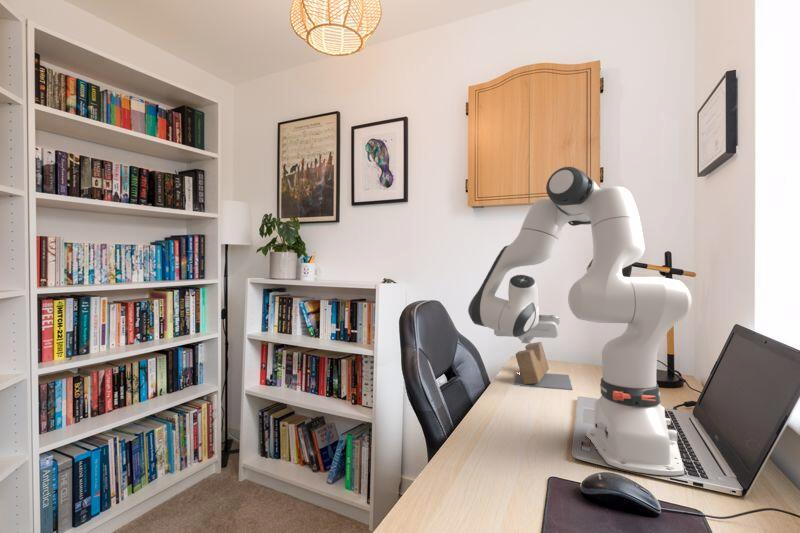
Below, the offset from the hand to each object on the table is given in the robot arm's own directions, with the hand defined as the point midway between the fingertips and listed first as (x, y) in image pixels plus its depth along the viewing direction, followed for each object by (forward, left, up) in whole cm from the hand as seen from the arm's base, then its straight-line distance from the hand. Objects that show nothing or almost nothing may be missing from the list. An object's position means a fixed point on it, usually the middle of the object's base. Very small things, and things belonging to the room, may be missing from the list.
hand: (526, 341), depth 133 cm
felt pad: (+12, -5, -16) cm, 21 cm away
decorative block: (+3, 0, -10) cm, 11 cm away
